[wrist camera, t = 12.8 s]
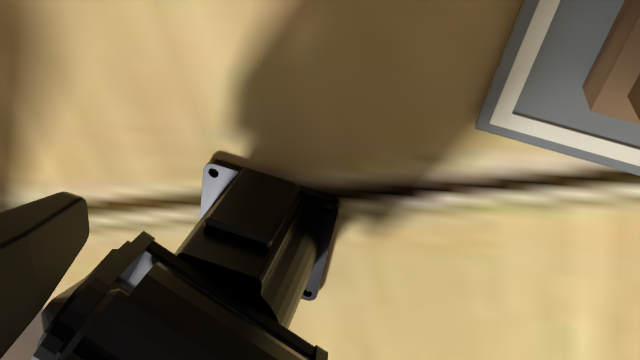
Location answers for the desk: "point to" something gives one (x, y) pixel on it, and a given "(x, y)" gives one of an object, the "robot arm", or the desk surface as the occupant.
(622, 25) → the stamp
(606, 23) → the marked board
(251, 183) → the robot arm
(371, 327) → the desk surface
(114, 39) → the desk surface
